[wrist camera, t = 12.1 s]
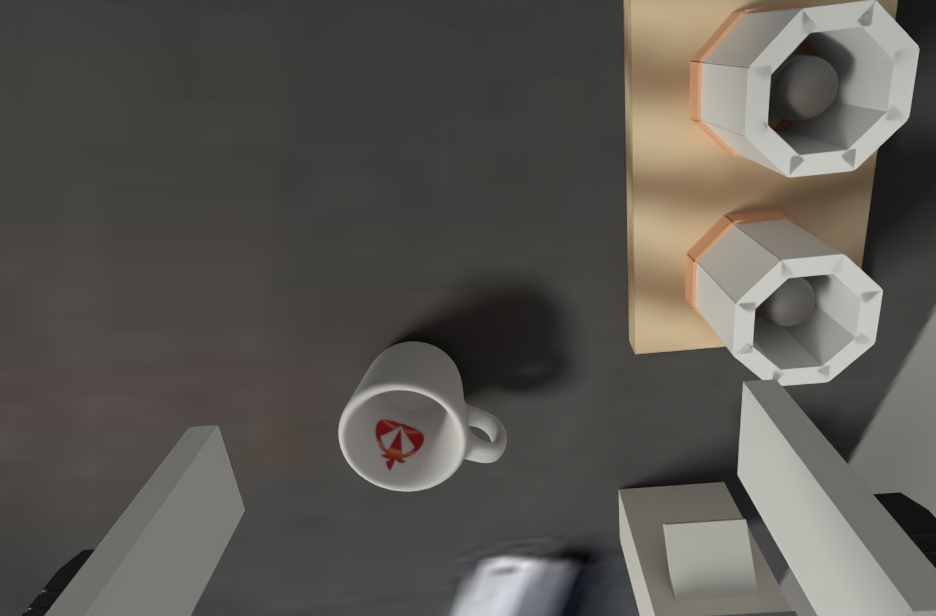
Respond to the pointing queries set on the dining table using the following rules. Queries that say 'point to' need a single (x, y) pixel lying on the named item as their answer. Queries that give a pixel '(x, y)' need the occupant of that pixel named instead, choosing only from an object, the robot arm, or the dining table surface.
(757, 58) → the sleeve seated
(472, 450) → the cup
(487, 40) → the dining table surface
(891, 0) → the pin board
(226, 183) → the dining table surface
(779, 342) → the sleeve
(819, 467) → the robot arm
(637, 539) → the box
